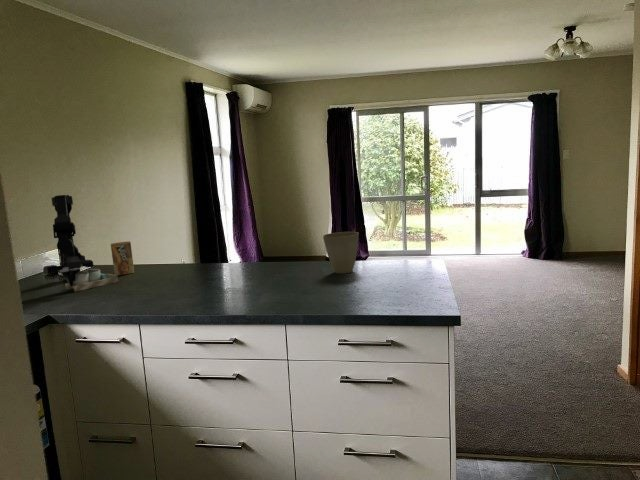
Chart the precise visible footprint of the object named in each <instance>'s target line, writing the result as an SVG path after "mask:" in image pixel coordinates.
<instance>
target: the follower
mask: <svg viewBox="0 0 640 480" xmlns="http://www.w3.org/2000/svg"><path fill="white" fill-rule="evenodd" d="M106 274H107V273H101V280H103V279H107V278H106Z"/></svg>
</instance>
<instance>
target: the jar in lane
mask: <svg viewBox="0 0 640 480" xmlns="http://www.w3.org/2000/svg"><path fill="white" fill-rule="evenodd" d="M87 272H88V273H89V282H93V281H98V280H101V269H99V268H90V269H87Z"/></svg>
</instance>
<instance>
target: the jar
mask: <svg viewBox="0 0 640 480" xmlns="http://www.w3.org/2000/svg"><path fill="white" fill-rule="evenodd" d="M74 282H75V285H80V284H84V283H89V273H88V270H87V271H85V270H83V271H81V270H80V271H78V272H77V273H76V279H75V281H74Z"/></svg>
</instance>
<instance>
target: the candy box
mask: <svg viewBox="0 0 640 480" xmlns="http://www.w3.org/2000/svg"><path fill="white" fill-rule="evenodd" d="M110 250H111V258H112V265H113V272H114V275H117V276H120V275H121V276H122V275H127V274H128V275H129V274H135V266H134V258H133V251H132V243H131V241H130V240H127V241H118V242H111V243H110Z"/></svg>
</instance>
